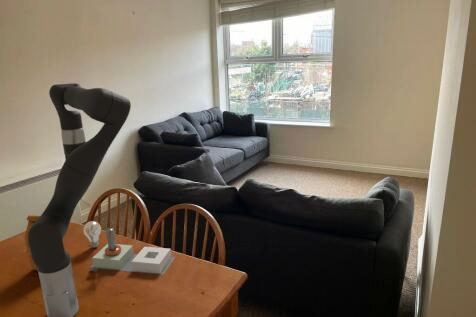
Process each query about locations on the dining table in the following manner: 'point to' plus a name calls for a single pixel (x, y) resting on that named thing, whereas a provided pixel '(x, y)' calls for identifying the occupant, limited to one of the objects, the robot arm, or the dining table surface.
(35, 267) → the coffee package
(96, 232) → the light bulb
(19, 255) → the dining table surface
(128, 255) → the square hole base
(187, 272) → the dining table surface
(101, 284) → the dining table surface
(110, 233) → the red flanged grey peg
